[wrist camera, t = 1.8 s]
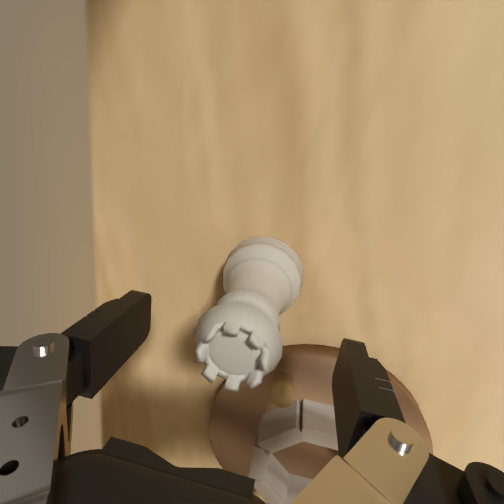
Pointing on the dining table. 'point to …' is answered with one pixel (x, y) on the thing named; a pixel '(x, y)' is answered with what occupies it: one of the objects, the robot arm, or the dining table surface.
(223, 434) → the carrier disc
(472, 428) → the dining table surface
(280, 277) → the rook chess piece
